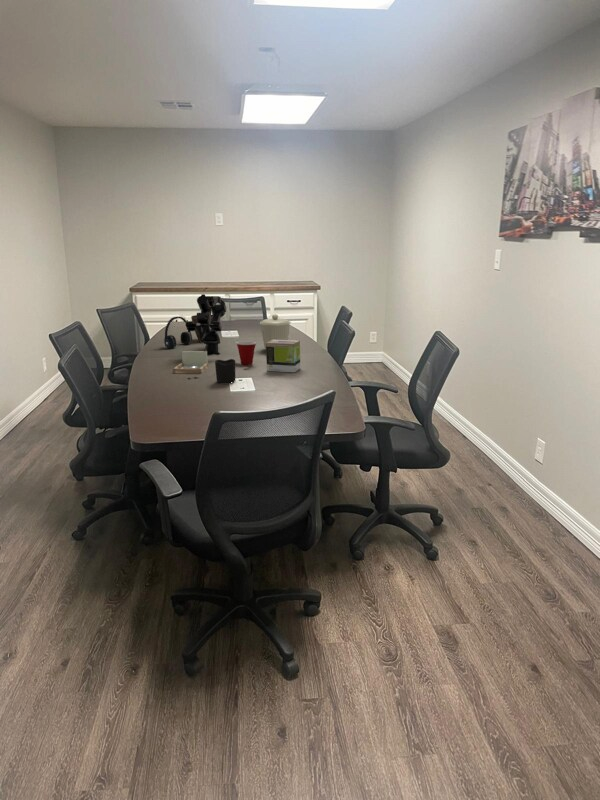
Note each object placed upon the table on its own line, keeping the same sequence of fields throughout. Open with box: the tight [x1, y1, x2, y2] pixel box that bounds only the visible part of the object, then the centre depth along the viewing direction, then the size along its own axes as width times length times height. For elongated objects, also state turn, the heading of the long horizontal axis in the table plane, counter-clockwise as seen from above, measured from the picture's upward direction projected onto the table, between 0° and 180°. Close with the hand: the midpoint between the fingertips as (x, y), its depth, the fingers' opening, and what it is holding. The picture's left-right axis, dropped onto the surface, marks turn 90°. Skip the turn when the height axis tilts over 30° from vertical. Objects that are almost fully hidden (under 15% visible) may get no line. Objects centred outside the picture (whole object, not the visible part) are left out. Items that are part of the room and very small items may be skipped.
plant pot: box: [190, 314, 213, 343], centre depth 352 cm, size 15×15×16 cm
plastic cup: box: [235, 340, 257, 366], centre depth 290 cm, size 11×11×12 cm
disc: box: [183, 365, 200, 369], centre depth 276 cm, size 8×8×2 cm
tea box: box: [265, 339, 301, 373], centre depth 277 cm, size 15×10×15 cm
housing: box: [172, 362, 209, 374], centre depth 276 cm, size 14×14×3 cm
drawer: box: [180, 350, 209, 369], centre depth 276 cm, size 14×13×9 cm
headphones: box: [163, 316, 193, 349], centre depth 336 cm, size 20×7×18 cm, turn 148°
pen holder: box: [214, 358, 236, 384], centre depth 257 cm, size 9×9×10 cm
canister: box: [259, 314, 292, 350], centre depth 322 cm, size 18×18×21 cm
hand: (201, 339), depth 293 cm, fingers closed
